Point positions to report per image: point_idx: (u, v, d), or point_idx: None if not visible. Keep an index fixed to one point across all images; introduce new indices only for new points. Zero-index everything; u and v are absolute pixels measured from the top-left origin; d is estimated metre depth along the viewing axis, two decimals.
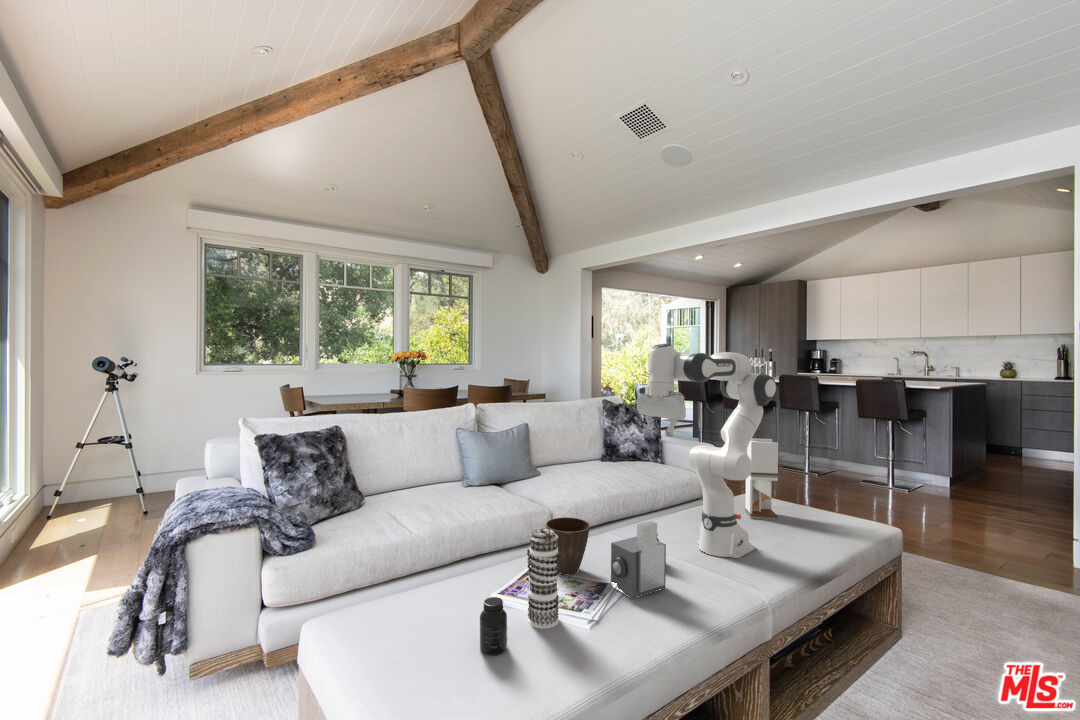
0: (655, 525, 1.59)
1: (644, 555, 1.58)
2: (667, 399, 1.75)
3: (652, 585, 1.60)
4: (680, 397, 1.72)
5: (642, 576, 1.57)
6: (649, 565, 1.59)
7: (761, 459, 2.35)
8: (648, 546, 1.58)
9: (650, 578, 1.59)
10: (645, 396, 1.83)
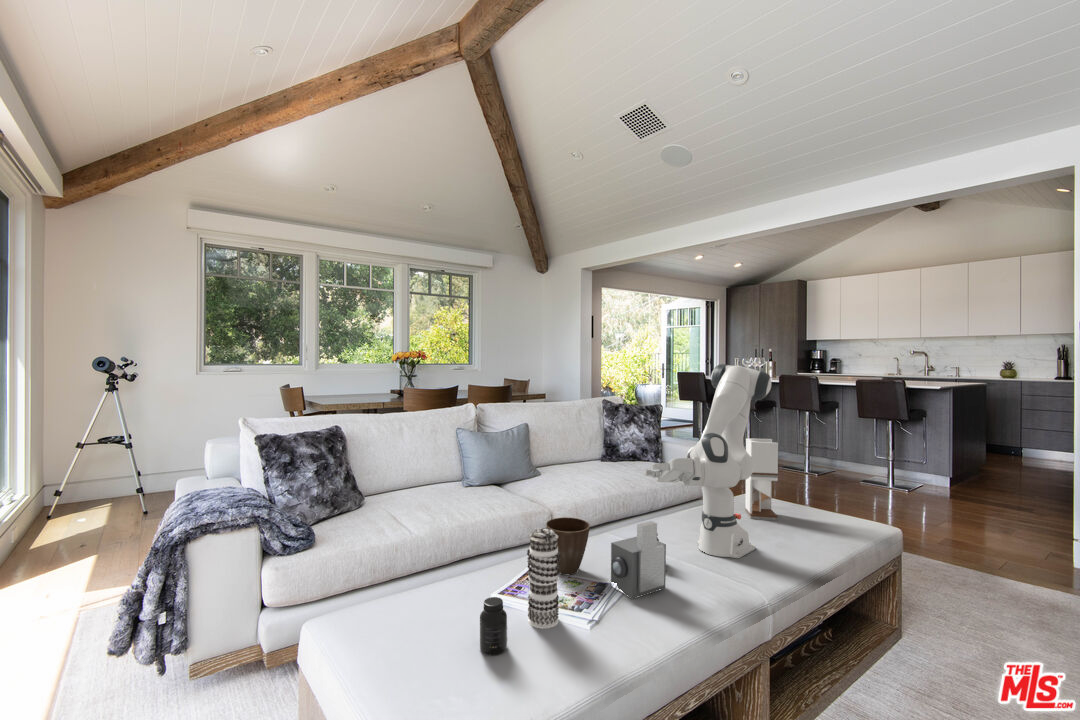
0: (655, 525, 1.59)
1: (644, 555, 1.58)
2: (678, 480, 1.75)
3: (652, 585, 1.60)
4: None
5: (642, 576, 1.57)
6: (649, 565, 1.59)
7: (761, 459, 2.35)
8: (648, 546, 1.58)
9: (650, 578, 1.59)
10: (689, 477, 1.66)
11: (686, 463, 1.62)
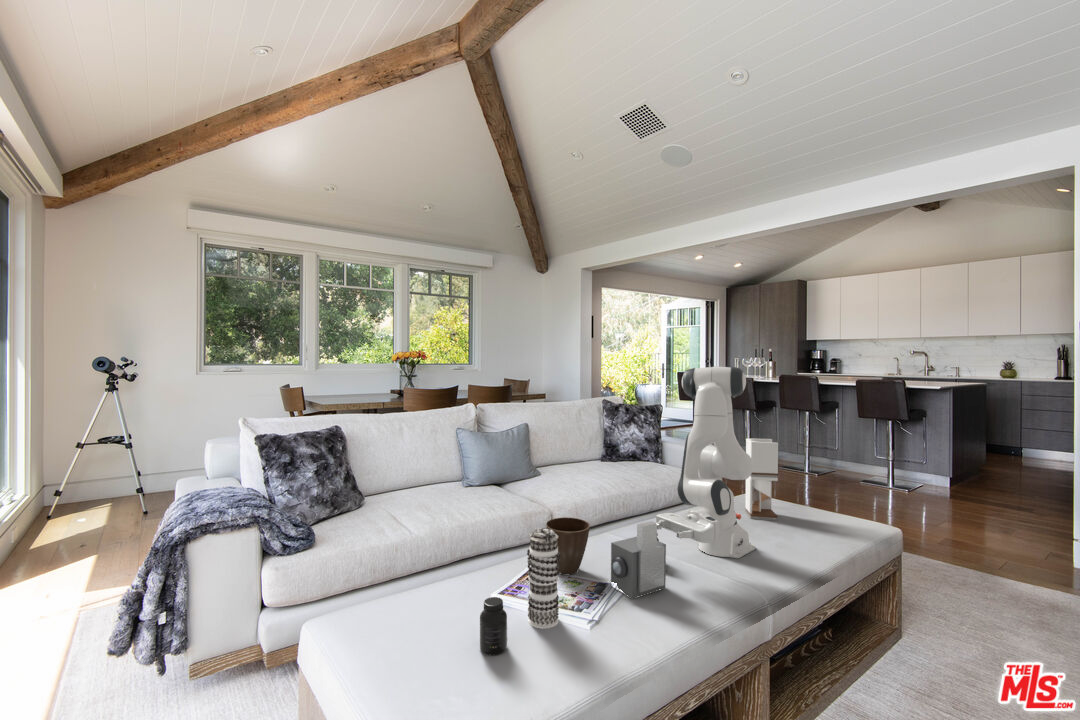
0: (655, 525, 1.59)
1: (644, 555, 1.58)
2: None
3: (652, 585, 1.60)
4: None
5: (642, 576, 1.57)
6: (649, 565, 1.59)
7: (761, 459, 2.35)
8: (648, 546, 1.58)
9: (650, 578, 1.59)
10: None
11: (711, 533, 1.60)
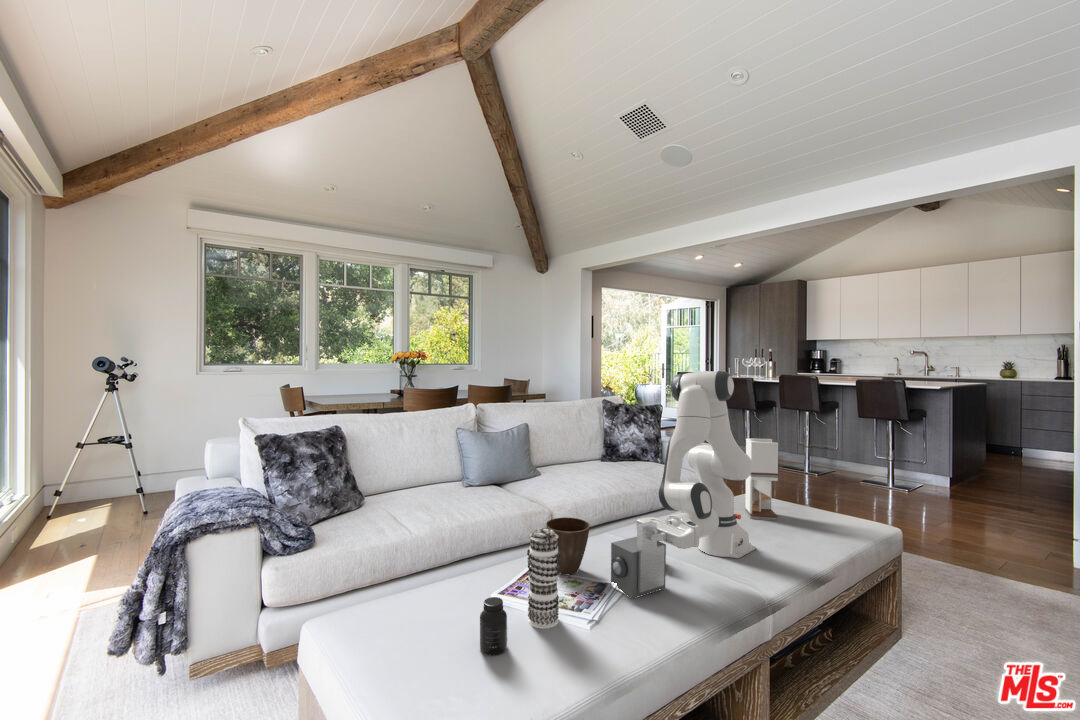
0: (655, 525, 1.59)
1: (644, 555, 1.58)
2: None
3: (652, 585, 1.60)
4: None
5: (642, 576, 1.57)
6: (649, 565, 1.59)
7: (761, 459, 2.35)
8: (648, 546, 1.58)
9: (650, 578, 1.59)
10: None
11: (691, 539, 1.55)
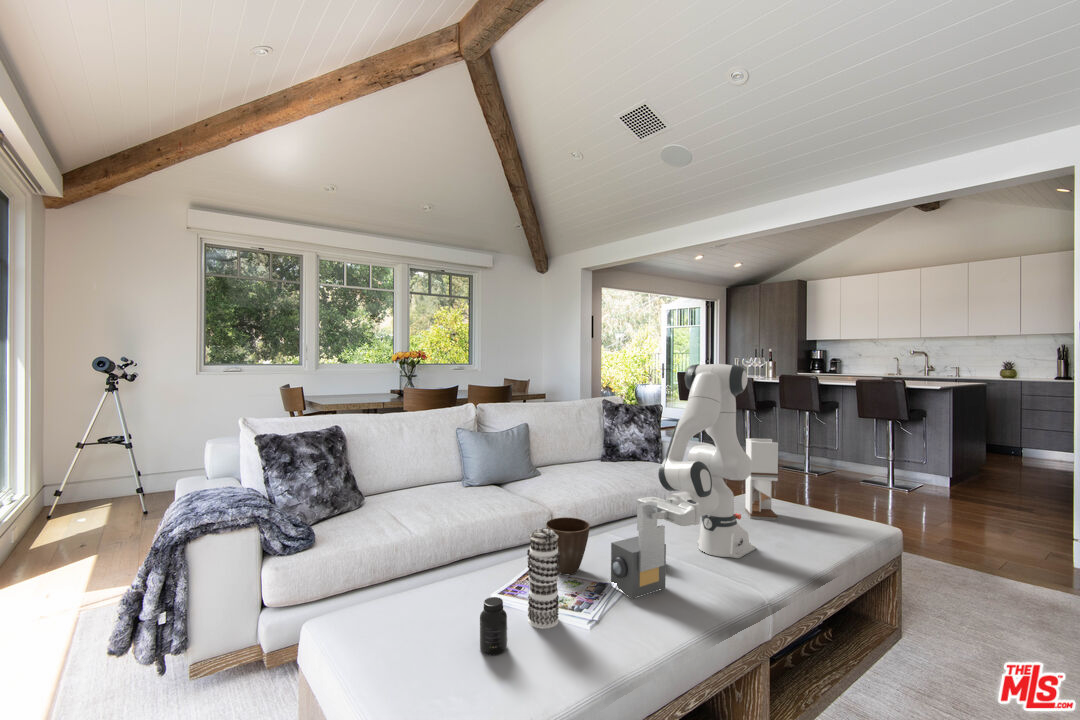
0: (655, 505, 1.59)
1: (644, 534, 1.58)
2: None
3: (652, 565, 1.60)
4: None
5: (642, 556, 1.57)
6: (650, 544, 1.59)
7: (761, 459, 2.35)
8: (648, 526, 1.58)
9: (650, 558, 1.59)
10: None
11: (691, 516, 1.55)
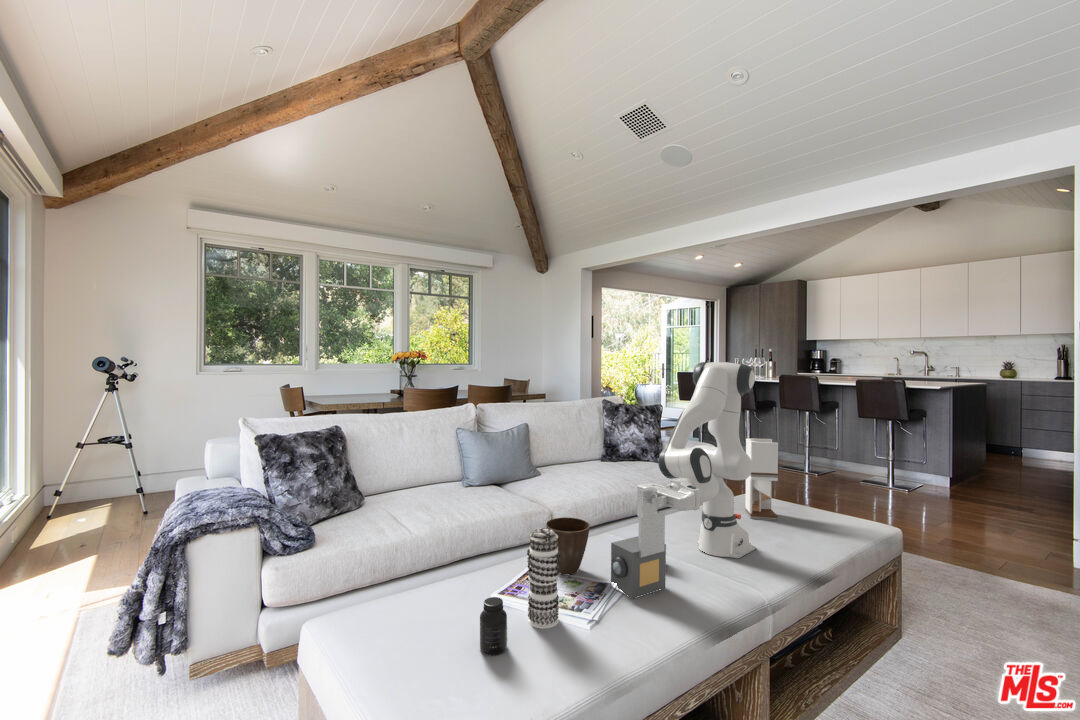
0: (655, 490, 1.59)
1: (644, 520, 1.58)
2: None
3: (652, 551, 1.60)
4: None
5: (642, 541, 1.57)
6: (650, 530, 1.59)
7: (761, 459, 2.35)
8: (648, 511, 1.57)
9: (650, 543, 1.59)
10: None
11: (691, 501, 1.55)
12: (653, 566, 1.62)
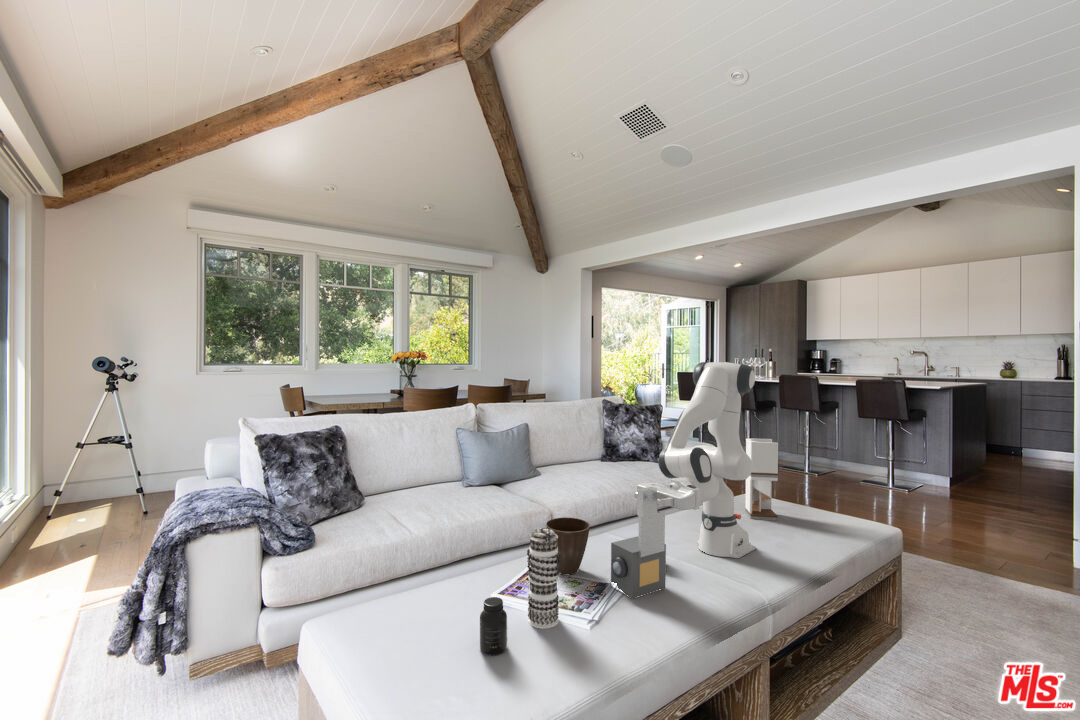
0: (655, 490, 1.59)
1: (644, 519, 1.58)
2: None
3: (652, 550, 1.60)
4: None
5: (642, 541, 1.57)
6: (650, 530, 1.59)
7: (761, 459, 2.35)
8: (648, 511, 1.57)
9: (650, 543, 1.59)
10: None
11: (691, 500, 1.55)
12: (653, 566, 1.62)
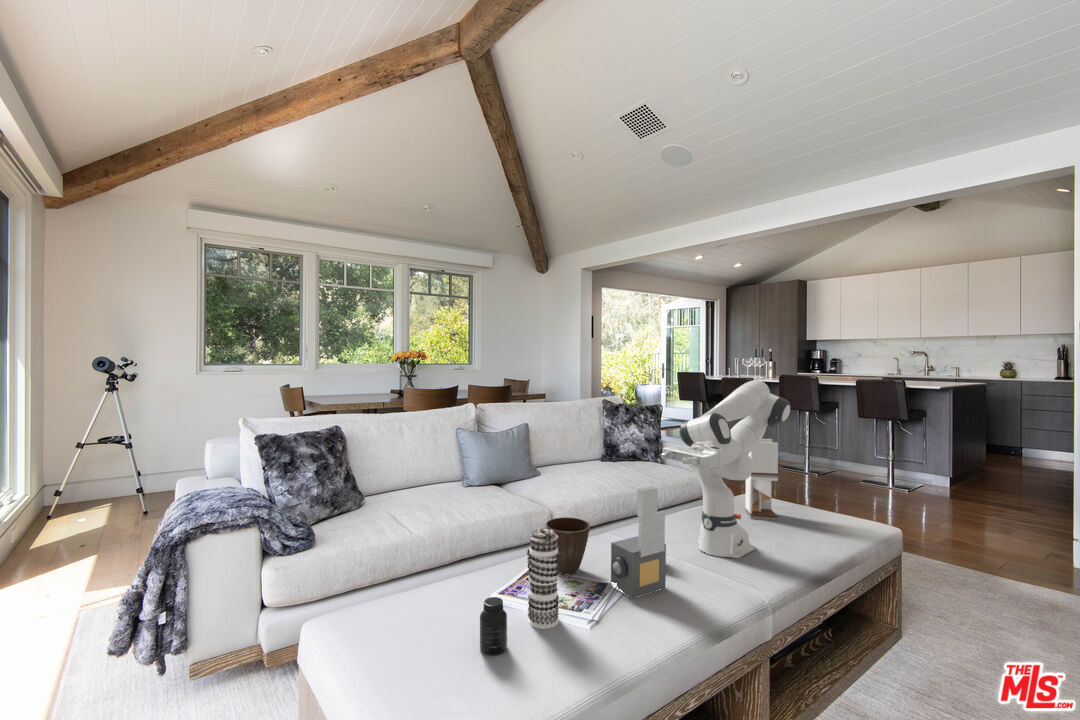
0: (655, 490, 1.59)
1: (644, 519, 1.58)
2: None
3: (652, 550, 1.60)
4: None
5: (642, 541, 1.57)
6: (650, 530, 1.59)
7: (761, 459, 2.35)
8: (648, 511, 1.57)
9: (650, 543, 1.59)
10: None
11: (715, 459, 1.66)
12: (653, 566, 1.62)
